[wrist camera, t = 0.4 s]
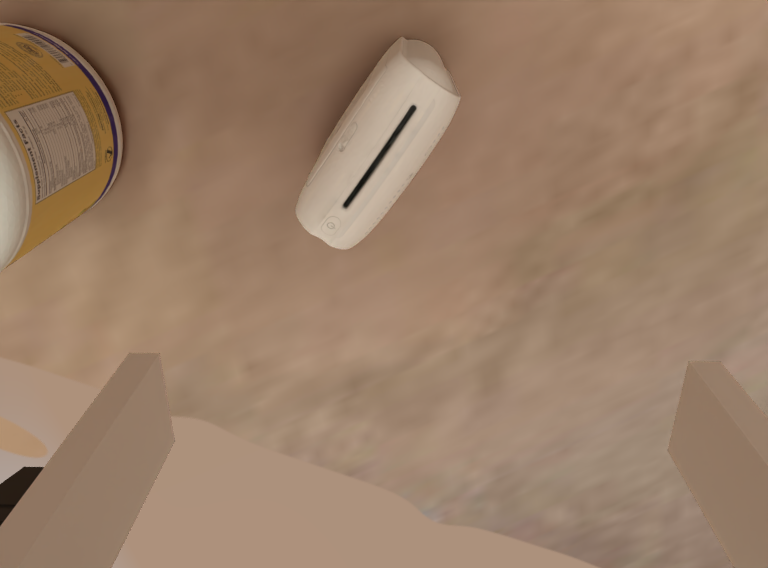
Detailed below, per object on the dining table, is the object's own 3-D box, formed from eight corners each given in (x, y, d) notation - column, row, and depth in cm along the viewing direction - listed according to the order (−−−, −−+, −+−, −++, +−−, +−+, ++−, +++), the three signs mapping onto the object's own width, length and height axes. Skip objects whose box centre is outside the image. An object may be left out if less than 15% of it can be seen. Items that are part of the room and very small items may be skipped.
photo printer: (363, 201, 42) (349, 279, 31) (308, 164, 41) (273, 230, 30) (459, 67, 38) (482, 100, 27) (401, 23, 38) (400, 38, 26)
